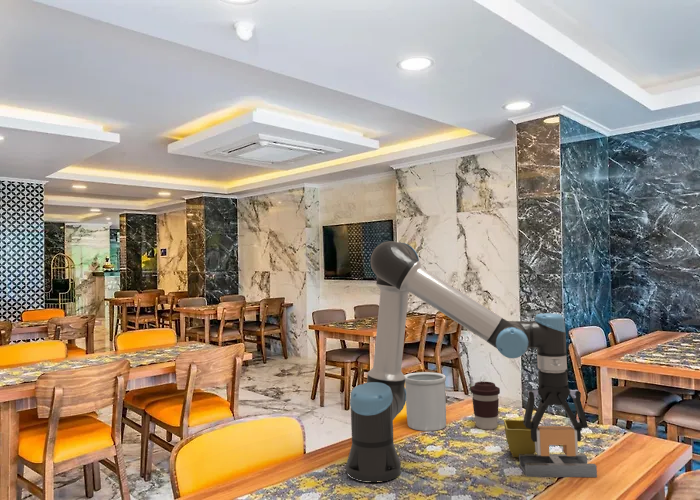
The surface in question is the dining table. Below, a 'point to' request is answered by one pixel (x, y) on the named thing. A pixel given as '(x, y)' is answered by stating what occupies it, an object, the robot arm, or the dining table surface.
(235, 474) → the dining table surface
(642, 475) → the dining table surface
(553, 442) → the brown notched block
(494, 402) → the coffee cup
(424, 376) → the utensil holder
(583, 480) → the dining table surface
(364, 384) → the robot arm
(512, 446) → the flower pot
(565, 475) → the rail
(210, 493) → the dining table surface
